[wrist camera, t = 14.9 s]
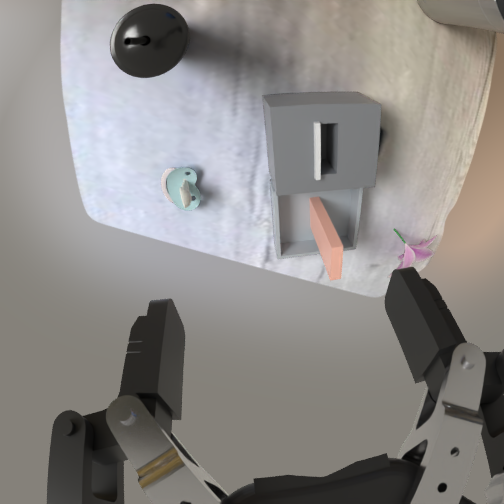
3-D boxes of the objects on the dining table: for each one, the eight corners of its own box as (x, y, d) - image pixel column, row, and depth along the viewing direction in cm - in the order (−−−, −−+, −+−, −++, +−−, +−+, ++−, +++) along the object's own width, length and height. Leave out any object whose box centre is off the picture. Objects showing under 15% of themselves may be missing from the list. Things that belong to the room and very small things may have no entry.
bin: (354, 172, 47) (363, 183, 44) (348, 235, 55) (355, 249, 52) (269, 179, 47) (273, 191, 44) (274, 244, 55) (277, 259, 52)
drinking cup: (212, 45, 33) (199, 47, 18) (165, 76, 35) (118, 107, 20) (180, 4, 29) (141, -24, 14) (133, 37, 31) (64, 43, 16)
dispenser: (357, 91, 38) (384, 105, 32) (355, 163, 46) (377, 189, 39) (262, 95, 39) (270, 108, 32) (269, 170, 46) (277, 199, 39)
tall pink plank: (318, 196, 49) (343, 246, 39) (319, 226, 53) (340, 278, 43) (309, 197, 49) (331, 247, 39) (310, 227, 53) (330, 280, 43)
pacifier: (168, 205, 49) (203, 201, 49) (160, 227, 44) (199, 223, 44) (157, 165, 44) (195, 159, 44) (147, 184, 40) (189, 177, 39)
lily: (368, 259, 61) (396, 295, 57) (376, 232, 51) (411, 273, 46) (407, 230, 62) (435, 263, 57) (420, 200, 52) (453, 237, 47)
